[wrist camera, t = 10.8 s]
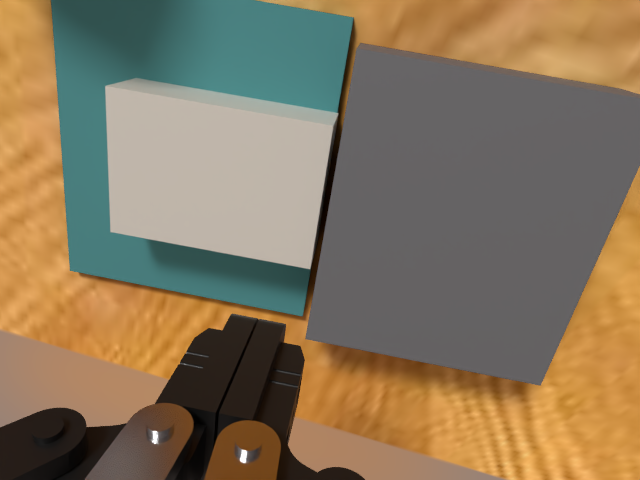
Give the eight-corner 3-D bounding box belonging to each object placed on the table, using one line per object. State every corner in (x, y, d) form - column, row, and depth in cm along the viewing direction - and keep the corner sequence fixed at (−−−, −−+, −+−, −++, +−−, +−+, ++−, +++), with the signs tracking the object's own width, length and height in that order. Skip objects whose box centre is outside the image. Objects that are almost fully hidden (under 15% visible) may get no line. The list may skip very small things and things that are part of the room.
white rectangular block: (338, 113, 24) (333, 125, 21) (317, 243, 27) (310, 269, 24) (136, 77, 24) (105, 85, 21) (137, 210, 27) (110, 232, 24)
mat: (353, 17, 22) (353, 17, 22) (304, 310, 29) (302, 316, 29) (56, -35, 23) (48, -36, 22) (75, 265, 30) (70, 270, 29)
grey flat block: (621, 88, 22) (667, 103, 19) (519, 338, 28) (540, 385, 25) (360, 43, 23) (356, 48, 19) (314, 298, 29) (305, 339, 25)
